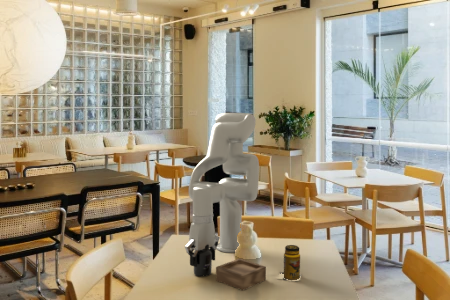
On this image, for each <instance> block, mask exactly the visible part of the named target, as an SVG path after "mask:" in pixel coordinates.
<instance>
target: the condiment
mask: <svg viewBox="0 0 450 300" xmlns="http://www.w3.org/2000/svg"><path fill="white" fill-rule="evenodd" d="M300 272H301V254H300V246H298V245H296V244H295V245H294V244H289V245H288V244H287V245H286V246H285V247H284V253H283V271H279V273H280V274H281V273H282V274H284V278H285V279H288V280H297V279H299V278H300V276H301V277H302V276H303V274H301V273H300Z"/></svg>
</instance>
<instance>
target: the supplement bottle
mask: <svg viewBox="0 0 450 300" xmlns="http://www.w3.org/2000/svg"><path fill="white" fill-rule="evenodd" d="M209 249H210V248H209V245H208V244H207V245H206V246H205V249H202V250H199V251H198V252H197V254H196V256H197V267H194V266H193V274H194V275H195V276H196V277H209V276H210V275H211V274H212V271H213V270H212V266H213V265H212V261H213V260H212V252H211V250H209Z"/></svg>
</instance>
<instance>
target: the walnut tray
mask: <svg viewBox="0 0 450 300" xmlns="http://www.w3.org/2000/svg"><path fill="white" fill-rule="evenodd" d="M266 280H267V267H266V266H265V265H262V264H259V263H256V262H252V261H249V260H247V259H244V258H243V259H242V258H237V259H234V260H231V261H228V262H225V263H223V264H220V265H218V266H216V267H215V281H216V282H219V283H220V284H224V285H227V286H229V287H233V288H235V289H238V290H240V289H241V291H245V290H246V289H249V288H251V286H252V287H254V286H256V285H258V284H260V282H261V283H263V282H265V281H266ZM262 281H263V282H262Z"/></svg>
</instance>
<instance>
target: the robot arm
mask: <svg viewBox="0 0 450 300" xmlns="http://www.w3.org/2000/svg"><path fill="white" fill-rule="evenodd" d="M255 127H256V118H255V116H254V115H253V114H252V113H249V112H247V113H246V112H221V113H218V114H217V115H216V117H215V123H214V125H213V126H212V127H211V128H212V129H211V132H210V138H209V142H208V147H207V151H206V155H205V157H204V158H203V159H202V160H200V161H199V162H198V164H197V165H196V166H195V168H194V169H193V171H192V172H191V176H190V179H189V185H188V196H189V198H190V199H191V200H192V222H191V223H190V228H189V234H188V243H186V245H184V249H185V251H186V254H188V256H189V265H190V266H191V267H193V268H194V267H197V256H196V254H197V252H198V251H199V250H202V249H205V246H206V245H207V244H208V245H209V250H211V252H212V261H216V250H217V251H219V252H223V253H236V252H235V250H236V249H237V247H238V246H239V243H238V242H237V235H238V233H239V232H240V231H241V232H242V227H241V228H240V223H241V224H242V218H243V217H242V216H243V215H242V208H241V205H240V203H239V201H244V202H253V201H255V200H256V199H257V197H258V191H259V175H260V163H259V162H260V161H259V158H258V156H257V155H255V154H252V153H244V152H243V151H244V149H243V147H244V144H245V142H246V141H247V140H248V138H250V137H251V135H252V134H253V132H254V130H255ZM218 166H222V171H223V173H225V174H226V175H233V176H245V177H246V178H240V177H239V178H238V177H224V178H222V179H220V181H218V182H209V181H201V180H202V177H203V176H204V174H206V172H208V171H210V170H212V169H213V168H216V167H218ZM215 203H219V236H218V235H216V231H215V224H214V220H213V219H214V213H213V212H214V209H213V207H214V205H213V204H215Z"/></svg>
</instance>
